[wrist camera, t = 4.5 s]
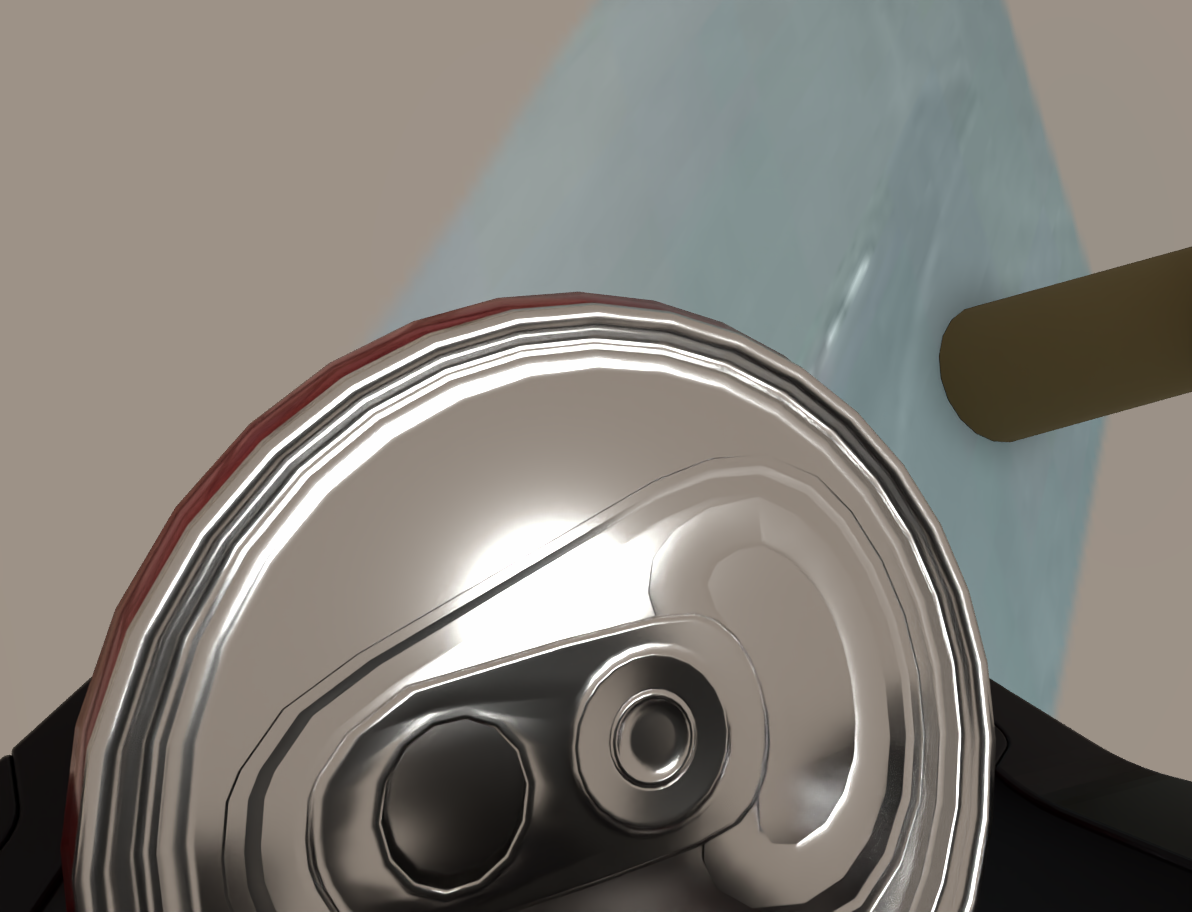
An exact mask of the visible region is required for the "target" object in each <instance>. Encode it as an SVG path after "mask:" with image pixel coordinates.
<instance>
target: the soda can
mask: <svg viewBox="0 0 1192 912" xmlns="http://www.w3.org/2000/svg"><path fill="white" fill-rule="evenodd" d="M995 750H996V737H995V728H994V719H993V709H992V700H991V691H990V682H989V673H988V663H987V659H986V655H985V651H984V648H983V644H982V640H981V636H980V632H979V628H978V624H977V620H976V616H975V613H974V609H973V605H972V601H971V597H970V593H969V590H968V587H967V585H966V583H965V580H964V578H963V576H962V573H961V571H960V569H959V566H958V564H957V561H956V559H955V557H954V554H953V552H952V550H951V547H950V545H949V543H948V540H947V538H946V536H945V533H944V531H943V528H942V526H941V524H940V522H939V521H938V519H937V518H936V516H935V514H934V513H933V511H932V509H931V508H930V506H929V505H928V503H927V501H926V500H925V498H924V497H923V495H922V493H921V492H920V490H919V489H918V487H917V485H916V484H915V482H914V481H913V479H912V477H911V476H910V474H909V473H908V471H907V469H906V468H905V466H904V465H903V463H902V462H901V461H900V460H899V459H898V458H897V457H896V455H895V454H894V453H893V452H892V451H891V450H890V449H889V448H888V446H887V445H886V444H885V443H884V442H883V441H882V440H881V438H880V437H879V436H878V435H877V434H876V433H875V432H874V430H873V429H872V428H871V427H870V426H869V425H868V424H867V423H866V421H865V420H864V419H863V418H862V417H861V416H860V415H859V413H858V412H857V411H855V410H854V409H853V408H852V407H851V406H849V405H848V404H847V403H846V402H844V401H843V400H842V399H841V398H839V397H838V396H837V395H836V394H834V393H833V392H832V391H831V390H829V389H828V388H827V387H826V386H824V385H823V384H822V383H821V382H819V381H818V380H817V379H816V378H814V377H813V376H812V375H811V374H809V373H808V372H807V371H806V370H804V369H803V368H802V367H801V366H799V365H797V364H795V363H793V362H792V361H790V360H789V359H788V358H787V357H785V356H784V355H782V354H780V353H778V352H777V351H775V350H773V349H771V348H769V347H767V346H765V345H764V344H762V343H760V342H758V341H756V340H754V339H752V338H751V337H749V336H747V335H745V334H743V333H741V332H739V331H738V330H736V329H734V328H732V327H730V326H728V325H726V324H725V323H723V322H720V321H716V320H713V319H710V318H707V317H704V316H701V315H698V314H694V313H691V312H688V311H685V310H682V309H679V308H676V307H672V306H669V305H666V304H663V303H660V302H657V301H653V300H644V299H636V298H627V297H619V296H610V295H602V294H593V293H585V292H569V293H556V294H543V295H530V296H517V297H504V298H496V299H492V300H489V301H485V302H482V303H478V304H474V305H471V306H467V307H464V308H460V309H456V310H453V311H449V312H445V313H442V314H438V315H435V316H431V317H427V318H424V319H420V320H417V321H413V322H411V323H409V324H407V325H405V326H403V327H401V328H399V329H397V330H395V331H393V332H391V333H389V334H387V335H385V336H383V337H381V338H379V339H377V340H375V341H373V342H371V343H369V344H367V345H365V346H363V347H360V348H358V349H356V350H354V351H352V352H350V353H348V354H346V355H344V356H342V357H340V358H338V359H336V360H334V361H333V362H330V363H329V364H327V365H326V366H325V367H323V368H322V369H321V370H319V371H318V372H317V373H316V374H314V375H313V376H312V377H310V378H309V379H308V380H306V381H305V382H304V383H302V384H301V385H300V386H299V387H297V388H296V389H295V390H293V391H292V392H291V393H289V394H288V395H287V396H286V397H284V398H283V399H281V400H280V401H279V402H278V403H276V404H275V405H274V406H272V407H271V408H270V409H268V410H267V411H266V412H264V413H263V414H262V415H261V416H259V417H258V418H257V419H255V420H254V421H253V422H251V423H250V424H249V425H248V426H247V427H246V428H245V430H244V431H243V432H242V433H241V434H240V435H239V436H238V438H237V439H236V440H235V441H234V442H233V443H232V444H231V445H230V446H229V448H228V449H227V450H226V451H225V452H224V453H223V454H222V456H221V457H220V458H219V459H218V460H217V461H216V462H215V463H214V465H213V466H212V467H211V468H210V469H209V470H208V471H207V472H206V473H205V475H204V476H203V477H202V478H201V479H200V480H199V481H198V483H197V484H196V485H195V486H194V487H193V488H192V489H191V490H190V491H189V493H188V494H187V495H186V496H185V497H184V498H183V500H181V502H180V503H179V504H178V505H177V506H176V508H175V509H174V511H173V512H172V514H171V516H170V517H169V519H168V521H167V523H166V524H165V526H164V528H163V529H162V531H161V533H160V535H159V536H158V538H157V540H156V541H155V543H154V545H153V546H152V548H151V550H150V552H149V553H148V555H147V557H146V558H145V560H144V562H143V563H142V565H141V567H140V568H139V570H138V572H137V574H136V575H135V577H134V579H133V580H132V582H131V584H130V586H129V587H128V589H127V590H126V592H125V594H124V596H123V597H122V599H121V601H120V602H119V604H118V606H117V607H116V609H115V612H114V615H113V618H112V621H111V624H110V627H109V629H108V632H107V635H106V638H105V641H104V645H103V647H102V650H101V653H100V656H99V658H98V661H97V664H96V667H95V670H94V673H93V676H92V679H91V681H90V684H89V687H88V690H87V693H86V696H85V699H84V702H83V705H82V708H81V710H80V713H79V716H78V719H77V722H76V725H75V733H74V741H73V749H72V757H71V766H70V774H69V782H68V790H67V798H66V807H65V815H64V823H63V831H62V839H61V848H60V852H61V861H62V870H63V880H64V889H65V899H66V908H67V912H976V911H977V908H978V905H979V900H980V895H981V889H982V883H983V877H984V871H985V866H986V860H987V854H988V848H989V842H990V837H991V831H992V825H993V813H994V781H995Z"/></svg>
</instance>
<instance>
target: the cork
mask: <svg viewBox="0 0 1192 912" xmlns="http://www.w3.org/2000/svg"><path fill="white" fill-rule="evenodd" d="M939 357H940V369H941V379H942V382H943V385H944V388H945V391H946V393H947V396H948V399H949V401H950V403H951V404H952V406H953V407H954V409H955V411H956V412H957V414H958V415H959V417H960V418H961V420H962V421H964V422H965V423H966V424H967V425H968V426H969V427H970V428H971V429H972V430H973V431H975V432H976V433H977V434H979V435H981V436H983V437H986V438H988V439H990V440H992V441H1000V442H1013V441H1016V440H1020V439H1023V438H1027V437H1031V436H1034V435H1038V434H1041V433H1045V432H1049V431H1052V430H1056V429H1059V428H1063V427H1067V426H1070V425H1074V424H1077V423H1081V422H1085V421H1088V420H1092V419H1095V418H1099V417H1103V416H1106V415H1110V414H1113V413H1117V412H1120V411H1124V410H1128V409H1131V408H1134V407H1138V406H1142V405H1146V404H1149V403H1153V402H1157V401H1160V400H1164V399H1167V398H1171V397H1174V396H1178V395H1182V394H1185V393H1189V392H1192V247H1189V248H1185V249H1182V250H1178V251H1174V252H1170V253H1167V254H1163V255H1160V256H1156V257H1152V258H1149V259H1145V260H1142V261H1138V262H1134V263H1131V264H1127V265H1123V266H1120V267H1116V268H1113V269H1109V270H1106V271H1102V272H1098V273H1094V274H1091V275H1087V276H1084V277H1080V278H1076V279H1073V280H1069V281H1066V282H1062V283H1058V284H1055V285H1051V286H1047V287H1044V288H1040V289H1037V290H1033V291H1029V292H1026V293H1022V294H1019V295H1015V296H1011V297H1008V298H1004V299H1000V300H997V301H993V302H990V303H986V304H982V305H979V306H975V307H971V308H968V309H965V310H963V311H962V312H961V313H960V314H958V315H957V316H956V317H955V318H954V319H952V321H951V322H950V324H949V326H948V328H947V330H946V332H945V333H944V335H943V339H942V345H941V350H940V356H939Z"/></svg>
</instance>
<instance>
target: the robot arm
mask: <svg viewBox="0 0 1192 912" xmlns="http://www.w3.org/2000/svg"><path fill="white" fill-rule="evenodd" d="M91 679H92V677H91V678H90V679H89V680H88V681H86V682H85V683H84V684H83V685H82V686H81V687H80V688H79V689H78V690H77V691H75V692H74V693H73V694H72V695H71V696H70V697H69V698H68V699H67V700H66V701H65V702H63V703H62V704H61V705H60V706H59V707H58V708H57V709H56V710H55V711H53V712H52V713H51V714H50V715H49V716H48V717H47V718H46V719H45V720H44V721H42V723H40V724H39V725H38V726H37V727H36V728H35V729H34V730H33V731H31V732H30V733H29V734H28V735H27V736H26V737H25V738H24V739H23V740H22V741H20V742H19V743H18V744H17V745H16V746H15V747H14V748H13V749H12V755H7V756H4V757H3V758H1V759H0V912H67V908H66V899H65V889H64V880H63V870H62V861H61V852H60V848H61V839H62V831H63V823H64V815H65V807H66V798H67V790H68V782H69V774H70V766H71V757H72V749H73V741H74V733H75V725H76V722H77V719H78V716H79V713H80V710H81V708H82V705H83V702H84V699H85V696H86V693H87V690H88V687H89V684H90V681H91ZM989 682H990V691H991V700H992V709H993V719H994V728H995V737H996V750H995V781H994V813H993V825H992V831H991V837H990V842H989V848H988V854H987V860H986V866H985V871H984V877H983V883H982V889H981V895H980V900H979V905H978V908H977V911H976V912H1192V782H1191V781H1187V780H1184V779H1179V778H1176V777H1172V776H1168V775H1165V774H1161V773H1158V772H1155V771H1152V770H1149V769H1146V768H1144V767H1141V766H1139V765H1136V764H1134V763H1131V762H1129V761H1126V760H1125V759H1123V758H1120V757H1119V756H1116V755H1114V754H1112V753H1110V752H1109V751H1107V750H1105V749H1103V748H1102V747H1100V746H1098V745H1097V744H1095V743H1093V742H1092V741H1090V740H1088V739H1087V738H1085V737H1084V736H1082V735H1080V734H1078V733H1077V732H1075V731H1074V730H1072V729H1071V728H1069V727H1067V726H1065V725H1064V724H1062V723H1061V722H1059V721H1058V720H1056V719H1054V718H1053V717H1051V716H1049V715H1048V714H1046V713H1045V712H1043V711H1041V710H1040V709H1038V708H1036V707H1035V706H1033V705H1032V704H1030V703H1028V702H1027V701H1025V700H1023V699H1022V698H1020V697H1019V696H1017V695H1015V694H1014V693H1012V692H1010V691H1009V690H1007V689H1006V688H1004V687H1003V686H1001V685H999V684H998V683H996V682H995V681H993V680H991V679H990V678H989Z"/></svg>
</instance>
